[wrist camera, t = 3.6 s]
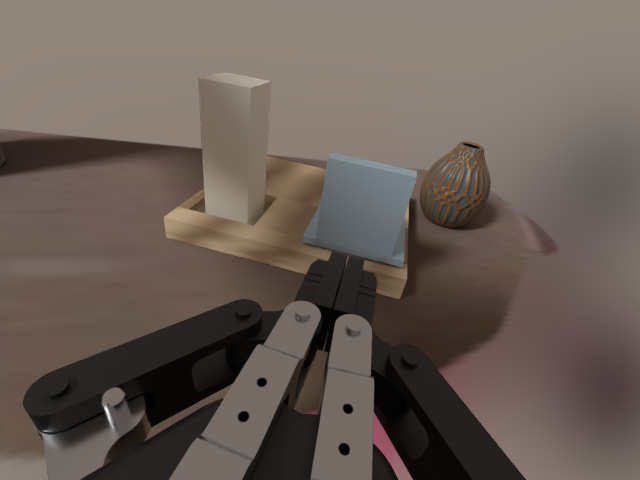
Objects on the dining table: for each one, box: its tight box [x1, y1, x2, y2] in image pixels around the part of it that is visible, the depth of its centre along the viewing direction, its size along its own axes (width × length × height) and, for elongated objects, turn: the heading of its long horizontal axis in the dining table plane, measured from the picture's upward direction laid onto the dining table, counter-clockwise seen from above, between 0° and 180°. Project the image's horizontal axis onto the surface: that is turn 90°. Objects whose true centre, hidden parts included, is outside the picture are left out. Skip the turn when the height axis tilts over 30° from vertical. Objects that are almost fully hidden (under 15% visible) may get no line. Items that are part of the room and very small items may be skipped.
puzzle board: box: [164, 156, 409, 299], centre depth 34 cm, size 20×18×2 cm
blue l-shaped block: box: [302, 153, 417, 267], centre depth 27 cm, size 8×8×7 cm
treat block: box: [198, 72, 271, 225], centre depth 28 cm, size 4×4×12 cm
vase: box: [420, 142, 490, 228], centre depth 36 cm, size 7×7×9 cm
